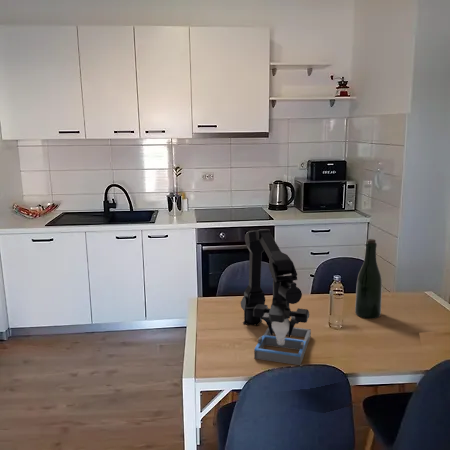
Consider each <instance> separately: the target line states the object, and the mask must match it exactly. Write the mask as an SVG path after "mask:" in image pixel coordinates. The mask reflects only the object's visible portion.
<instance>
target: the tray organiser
mask: <svg viewBox="0 0 450 450" xmlns="http://www.w3.org/2000/svg"><path fill="white" fill-rule="evenodd" d="M311 333H312V330H311V329H310V328H303V327H302V328H301V327H295V326H294V328H293V331H292V333H291V336H293V337H299V339H297V338H291V336H290V338H289V337H286V338H285V344H284V345H278V344H277V339H276V335H275V336H274V335H271V333H270V330H269V328H268V327H267V328H266V330H265V331H264V334H263V335H261V336H259V337H258V339H257V341H258V342H257V344H256V345H255V347H254V349H253V350H254V351H253V353H254V359H255V360H263V361H268V362H276V363H283V364H289V365H296V366H301V365H302V362H303V359H304V356H305V354H306V351H307V348H308V345H309V343H310V340H311ZM273 334H275V332H274V331H273ZM286 336H289V331H288V333H287V334H286ZM301 337H302V338H304V339H300V338H301ZM265 346H269V347H275V348H283V349H291V350H298V353H295V352H287V351H281V350H274V349H265Z"/></svg>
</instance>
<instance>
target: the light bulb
mask: <svg viewBox="0 0 450 450" xmlns="http://www.w3.org/2000/svg"><path fill="white" fill-rule="evenodd" d="M271 325H272V329H273V331H274V332H275V333H274V334H275V336H276V339H277V344H278V345H284V344H285V338H287V335H286V334H287V333H288V331H289V327H290V318H289V319H284V322H282V323H280V322H275V321H274V322H272V324H271Z"/></svg>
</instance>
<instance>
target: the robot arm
mask: <svg viewBox="0 0 450 450" xmlns="http://www.w3.org/2000/svg"><path fill="white" fill-rule="evenodd" d="M244 242H245V246H246V248H247V249H248V251H249V261H248V263H249V264H248V285H247V287H246V288H245V289H244V293H243V296H242V299H241V301H240V307H241V309H242V310H243V313H244V314H243V316H244V317H243V319H244V321H243V322H242V324H243V325H249V326H259V325H260V324H261V323H262V321H264V322H266V323H265V324H266V325H267V328H269V330H270V333H271V335H270V336H274V335H273V334H274V333H273V329H272V325H271V324H272V322H274V321H275V322H280V323H282V322H284V319H289V321H290V327H289V335H288V338H291V333H292V331H293V328H294V327H295V326H296V325H298V324H299V323H303V324H304V323H305V324H306V323H308V320H309V317H310V311H309V310H308V309H307V308H297V309H296V310H295V311H294V310H291V308H290V305H296V304H298V303H299V302H300V300H301V299H302V297H303V294H302V293H303V292H302V290H301V289H300V287H298V286H297V283H296V282H294V281H298V272H297V270H296V269H297V268H296V267H295V264H294V262H293V260H292V259H291V258H290V256H289V255H288V254H286V253H284V252H282V251H281V249H280V247H279V245H278V244H277V242H276V241H275V239H274V237H273V235H272V231H271V229H269V228H264V229H263V228H262V229H257V230H248V231H247V232H246V233H245V234H244ZM263 252H265V253H266V256H267V258H268V260H269V264H268V269H269V272H270V274H271V278H272V301H271V305H270V307H269V306H268V304H265V303H266V297H265V295H266V294H265V292H264V291H263V289H262V287H261V285H262V284H261V282H262V281H261V280H262V279H261V278H262V258H263V257H262V255H263V254H262V253H263ZM290 318H291V319H290Z"/></svg>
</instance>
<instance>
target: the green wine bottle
mask: <svg viewBox="0 0 450 450" xmlns="http://www.w3.org/2000/svg"><path fill="white" fill-rule="evenodd" d="M377 246H378V245H377V242H376V239H374V238H369V239H368V238H367V240H366V242H365V251H364V252H365V253H364V260H363V263H362V265H361V268H360V270H359V272H358V275H357V280H356V289H355V307H354V309H355V310H354V312H355V314H356V316H358V317H360V318H364V319H371V320H372V319H378V318H380V316H381V312H382V294H383V293H382V291H383V290H382V289H383V285H382V284H383V283H382V282H383V279H382V275H381V272H380V269H379V266H378V265H379V264H378V262H377Z"/></svg>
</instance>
